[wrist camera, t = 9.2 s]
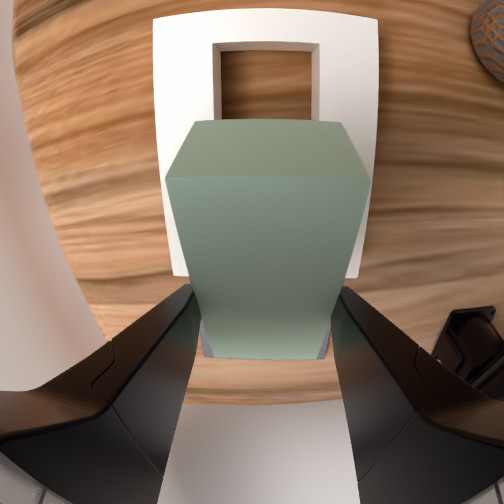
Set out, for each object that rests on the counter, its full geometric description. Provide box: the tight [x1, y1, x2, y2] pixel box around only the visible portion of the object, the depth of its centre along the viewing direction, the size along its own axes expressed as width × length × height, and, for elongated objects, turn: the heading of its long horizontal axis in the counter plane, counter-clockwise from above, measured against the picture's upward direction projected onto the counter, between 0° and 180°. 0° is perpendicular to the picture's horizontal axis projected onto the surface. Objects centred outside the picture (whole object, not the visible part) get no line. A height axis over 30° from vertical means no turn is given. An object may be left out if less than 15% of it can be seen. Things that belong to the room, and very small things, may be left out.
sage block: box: [165, 119, 371, 360], centre depth 9 cm, size 4×8×3 cm, turn 1°
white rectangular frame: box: [153, 8, 379, 278], centre depth 17 cm, size 12×16×3 cm
